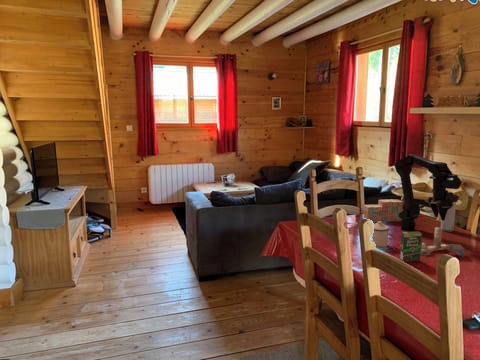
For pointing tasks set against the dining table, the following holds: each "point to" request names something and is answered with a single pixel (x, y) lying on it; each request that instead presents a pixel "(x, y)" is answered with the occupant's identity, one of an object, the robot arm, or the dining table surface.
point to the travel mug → (449, 219)
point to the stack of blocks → (384, 211)
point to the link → (435, 242)
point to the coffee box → (410, 246)
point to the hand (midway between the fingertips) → (439, 218)
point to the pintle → (424, 248)
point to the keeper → (457, 249)
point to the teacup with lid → (380, 234)
